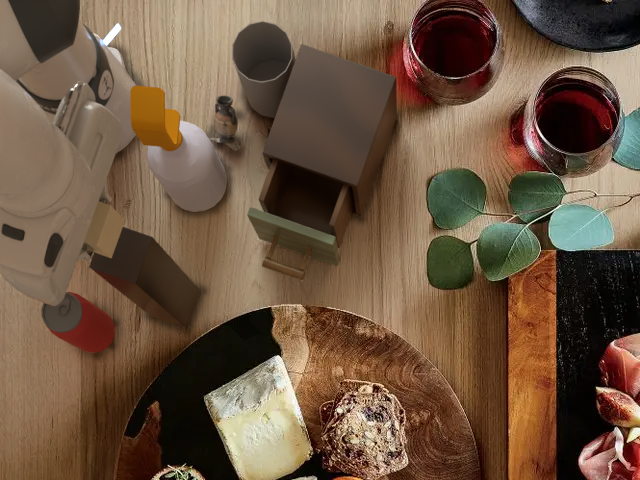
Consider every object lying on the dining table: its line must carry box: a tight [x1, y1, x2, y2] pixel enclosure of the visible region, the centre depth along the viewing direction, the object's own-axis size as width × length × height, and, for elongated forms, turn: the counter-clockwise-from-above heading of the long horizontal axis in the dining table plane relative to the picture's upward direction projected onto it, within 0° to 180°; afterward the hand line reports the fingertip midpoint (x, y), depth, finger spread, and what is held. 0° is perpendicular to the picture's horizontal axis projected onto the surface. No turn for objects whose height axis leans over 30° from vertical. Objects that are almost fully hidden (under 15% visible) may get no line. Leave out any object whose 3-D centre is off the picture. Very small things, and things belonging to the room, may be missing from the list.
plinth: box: [88, 225, 202, 330], centre depth 110 cm, size 6×6×24 cm
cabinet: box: [262, 43, 398, 218], centre depth 116 cm, size 16×14×12 cm
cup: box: [231, 20, 296, 119], centre depth 117 cm, size 8×8×10 cm
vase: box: [209, 94, 250, 153], centre depth 119 cm, size 5×5×6 cm
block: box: [84, 201, 126, 258], centre depth 89 cm, size 4×4×4 cm
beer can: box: [40, 291, 116, 354], centre depth 116 cm, size 7×7×12 cm
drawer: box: [246, 159, 355, 281], centre depth 116 cm, size 19×12×10 cm, turn 160°
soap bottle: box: [130, 85, 228, 213], centre depth 110 cm, size 9×9×25 cm
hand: (94, 228), depth 90 cm, fingers closed on block, 4 cm apart
